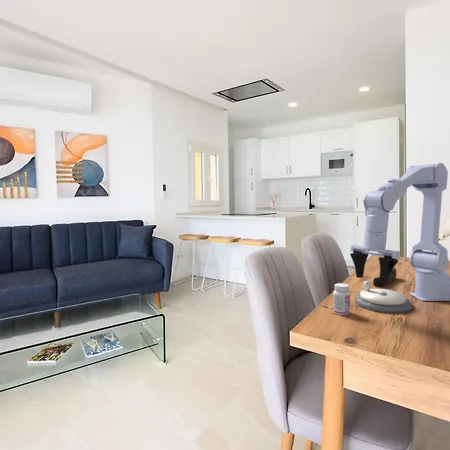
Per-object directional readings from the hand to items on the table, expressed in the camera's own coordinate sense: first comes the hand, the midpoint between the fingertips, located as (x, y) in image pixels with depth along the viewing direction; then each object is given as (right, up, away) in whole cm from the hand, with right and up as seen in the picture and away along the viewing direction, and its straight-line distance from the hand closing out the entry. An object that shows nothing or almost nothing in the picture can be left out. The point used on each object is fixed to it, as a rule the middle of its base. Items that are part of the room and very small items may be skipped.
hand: (370, 280), depth 92 cm
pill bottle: (-7, -11, +4) cm, 13 cm away
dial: (+8, -8, +10) cm, 15 cm away
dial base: (+8, -9, +10) cm, 16 cm away
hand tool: (+22, -7, +36) cm, 43 cm away
